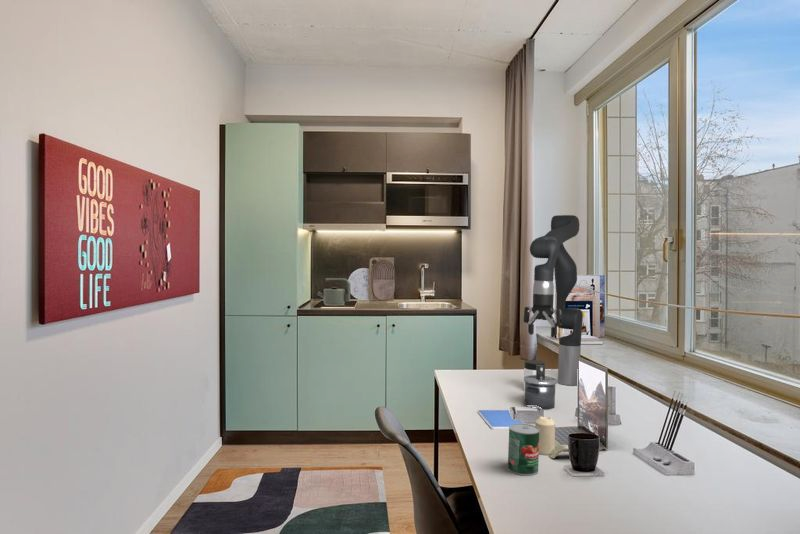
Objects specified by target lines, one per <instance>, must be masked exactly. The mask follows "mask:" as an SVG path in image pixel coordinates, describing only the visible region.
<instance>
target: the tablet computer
mask: <svg viewBox="0 0 800 534" xmlns="http://www.w3.org/2000/svg"><path fill="white" fill-rule="evenodd" d="M509 410H510V409H508V410H507V409H502V410H501V409H500V410H499V409H495V410H494V409H490V410H489V409H485V410H484V409H483V410H482V409H479V410H477V414H479V416H480V417H481V418H482V419H483V420H484V422H485V423H486V424H487V425H488V427H489V428H490V429H491V430H509V426H510V425H512V424H519V423H521V424H525V422H524V421H523V420H521V421H515V420H513V419H512V418H511V416H510V413H509Z"/></svg>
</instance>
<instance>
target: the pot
mask: <svg viewBox="0 0 800 534" xmlns="http://www.w3.org/2000/svg"><path fill="white" fill-rule="evenodd" d="M555 404H556V384H555V385H549V386H542V385H534V384H529V383H526V382H525V391H524V406H525V405H537V406H539V407H541V408H542V409H543V410H545V411H546V410H547V411H549V410H552V409H555V408H556V406H555ZM543 410H542V411H543Z"/></svg>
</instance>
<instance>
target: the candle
mask: <svg viewBox="0 0 800 534" xmlns="http://www.w3.org/2000/svg"><path fill="white" fill-rule="evenodd" d="M534 426H536V427H538V428H539V429H540V431H539V455H543V456H550V455H549V453H550V452H551V451H552V450H553V449H554V450H555V441H556V439H555V438H556V422H555V421H554V420H553V419H552V417H547V416H546V417H545V416H539V417H538V418H537V419H536V420H535V425H534Z"/></svg>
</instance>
